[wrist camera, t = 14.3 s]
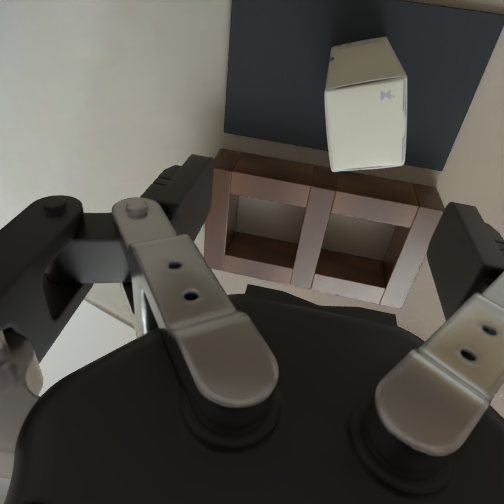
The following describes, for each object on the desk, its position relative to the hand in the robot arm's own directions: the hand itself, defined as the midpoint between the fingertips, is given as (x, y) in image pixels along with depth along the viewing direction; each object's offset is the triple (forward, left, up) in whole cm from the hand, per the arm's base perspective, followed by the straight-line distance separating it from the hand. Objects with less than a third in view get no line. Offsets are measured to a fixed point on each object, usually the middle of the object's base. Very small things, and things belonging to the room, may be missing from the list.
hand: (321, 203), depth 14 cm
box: (+2, 0, -23) cm, 23 cm away
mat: (+1, -1, -24) cm, 24 cm away
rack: (+1, -14, -24) cm, 27 cm away
